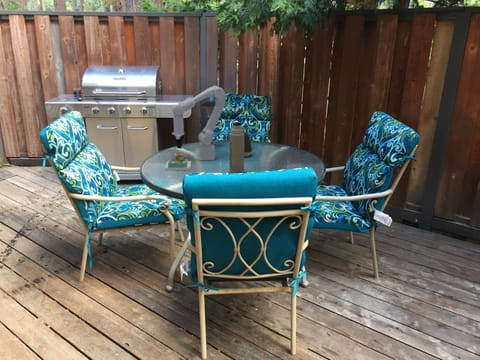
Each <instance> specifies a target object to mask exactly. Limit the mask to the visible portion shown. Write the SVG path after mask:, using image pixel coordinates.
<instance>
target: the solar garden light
mask: <svg viewBox="0 0 480 360" xmlns="http://www.w3.org/2000/svg"><path fill="white" fill-rule="evenodd" d="M215 105H216V102H215V101H205V102H204V103H202V104H200V106H202V107H204V109H205V111H206V113H207V114H206V115H207V116H208V117H209V118H210V116H211V114H212V111H213V109H214V107H215ZM209 118H208V119H209ZM211 144H213V141H212V142H211Z"/></svg>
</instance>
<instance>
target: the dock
mask: <svg viewBox="0 0 480 360" xmlns="http://www.w3.org/2000/svg"><path fill="white" fill-rule="evenodd" d="M191 166H192V160H188V158H187V159H184V160H183V163H175V160H174V161H173V160H172V159H169V160H167V161H166V164H165V167H164V171H190V170H191V168H192V167H191Z"/></svg>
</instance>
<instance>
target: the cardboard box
mask: <svg viewBox="0 0 480 360" xmlns="http://www.w3.org/2000/svg"><path fill="white" fill-rule="evenodd" d="M173 155H174V157H173V158H174V161H175V163H183V161H184V154H183V152H181V151H180V152H179V151H178V152H173Z"/></svg>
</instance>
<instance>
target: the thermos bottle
mask: <svg viewBox="0 0 480 360" xmlns="http://www.w3.org/2000/svg"><path fill="white" fill-rule="evenodd" d="M231 127H232V128H231V129H230V132H229V174H230V173H242V172H244V173H245V157H244V133H243V132H244V128H243V127H242V122H240V121H239V122H237V121H236V122H232V126H231Z"/></svg>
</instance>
